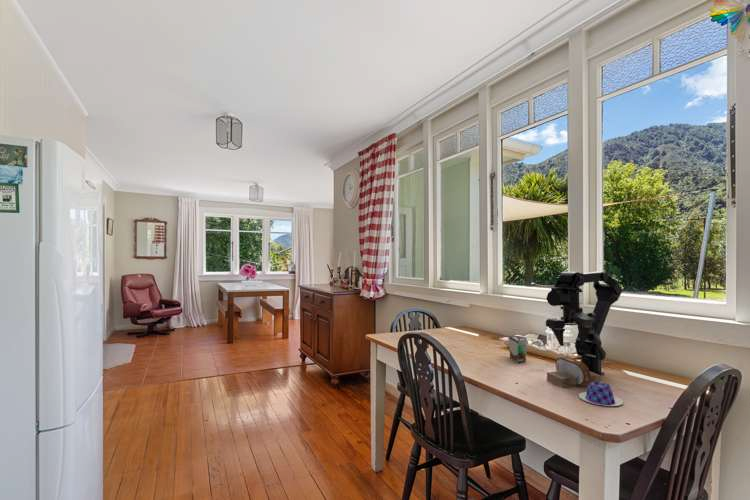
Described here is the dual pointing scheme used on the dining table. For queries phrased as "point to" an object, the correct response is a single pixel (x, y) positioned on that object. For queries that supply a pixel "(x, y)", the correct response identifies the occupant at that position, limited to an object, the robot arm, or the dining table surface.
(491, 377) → the dining table surface
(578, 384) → the tin
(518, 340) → the food container
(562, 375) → the slotted rail
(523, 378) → the dining table surface
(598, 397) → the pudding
